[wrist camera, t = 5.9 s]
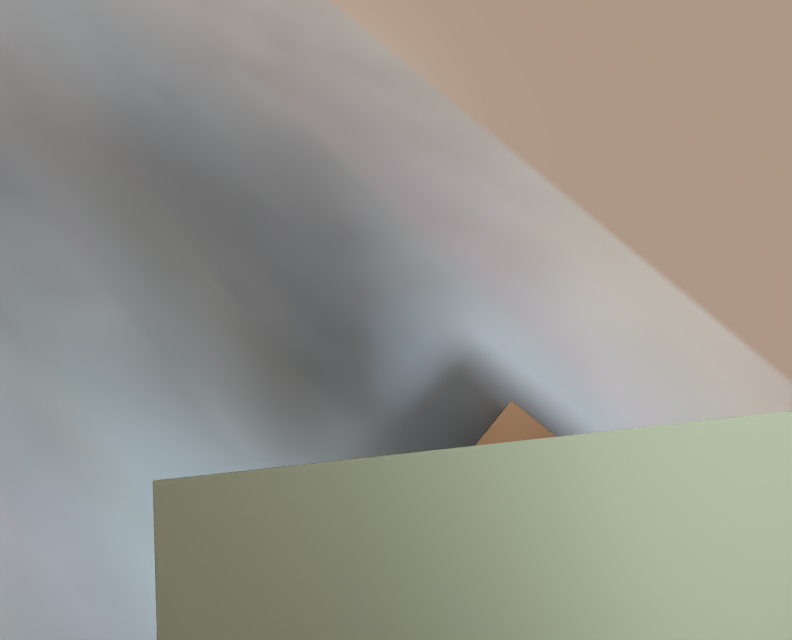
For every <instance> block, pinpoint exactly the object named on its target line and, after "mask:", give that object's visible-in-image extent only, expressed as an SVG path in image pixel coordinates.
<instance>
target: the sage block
mask: <svg viewBox="0 0 792 640" xmlns="http://www.w3.org/2000/svg"><path fill="white" fill-rule="evenodd" d="M153 507H154V544H155V581H156V618H157V640H792V411H788V412H779V413H770V414H760V415H751V416H742V417H733V418H724V419H715V420H706V421H696V422H687V423H678V424H669V425H660V426H651V427H641V428H632V429H623V430H614V431H605V432H596V433H587V434H577V435H568V436H559V437H550V438H541V439H532V440H522V441H513V442H504V443H495V444H486V445H477V446H467V447H458V448H449V449H440V450H431V451H422V452H413V453H403V454H394V455H385V456H376V457H367V458H358V459H348V460H339V461H330V462H321V463H312V464H303V465H294V466H284V467H275V468H266V469H257V470H248V471H239V472H229V473H220V474H211V475H202V476H193V477H184V478H175V479H165V480H156V481H153Z"/></svg>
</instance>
